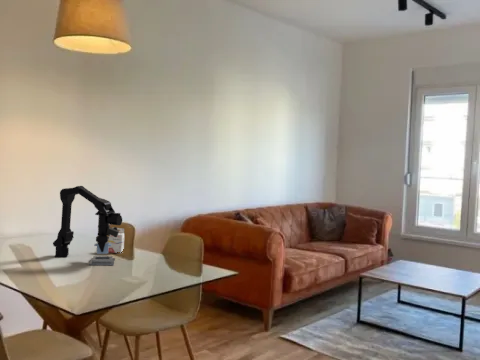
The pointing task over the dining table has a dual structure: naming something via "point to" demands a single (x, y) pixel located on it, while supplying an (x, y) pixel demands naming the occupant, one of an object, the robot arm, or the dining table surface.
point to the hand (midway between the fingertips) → (102, 251)
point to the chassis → (102, 260)
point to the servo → (104, 248)
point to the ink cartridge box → (117, 242)
